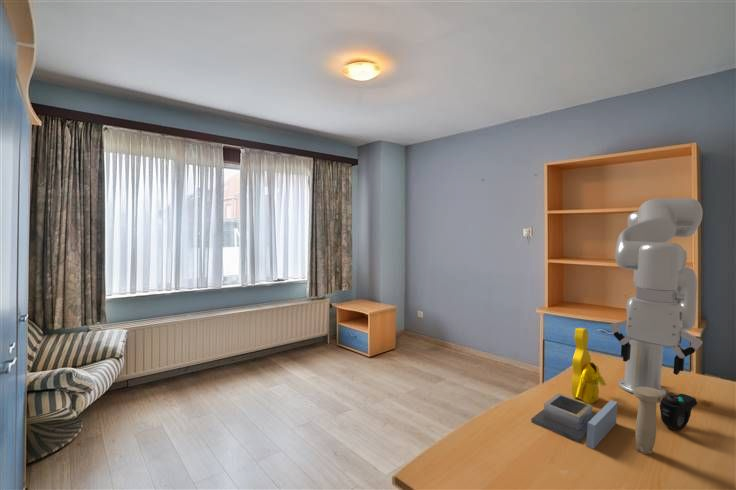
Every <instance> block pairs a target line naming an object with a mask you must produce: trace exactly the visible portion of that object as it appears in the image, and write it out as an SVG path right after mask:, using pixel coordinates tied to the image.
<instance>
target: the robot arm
mask: <svg viewBox="0 0 736 490" xmlns="http://www.w3.org/2000/svg"><path fill="white" fill-rule="evenodd" d="M703 213H704V211H703V208H702V204H701V203H700V202H699V201H698V200H697V199H695V198H692V197H691V198H690V197H677V198H676V197H671V198H670V197H669V198H664V197H663V198H662V197H661V198H652V199H649V200H646V201H644V202H643V203H642V204H640V206H639V208H638V211H637V210H635V211H634V212H631V213H630V214H629V215H628V216H627V220H626V221H627V227H626V228H625V229H624V230H622V231H621V232H620V233H619V235H618V238H617V241H616V246H615V251H614V252H615V254H614V255H615V256H614V257H615V258H614V259H615V263H616V264H617V266H618V267H619V268H621V269H623V270H629V271H630V270H631V271H633V285H634V289H635V296H632V297H629V299H628V300H627V302H626V307H625V310H626V320H621V321H616V322H612V323H610V325H609V327H610V329H611V331H612V333H613V336H614V337H615V338H616V340H618V342H619V343H620V345H621V347H620V348H621V349H620V357H622V361H623V362H625V366H624V367H625V368H624V378H620V379H619V380H618V386H619V387H620V388H622V389H623V390H625V391H626V392H629V393H631V394H633V395H634V389H635V388H636V387H651V388H654V389H657V390H660V391H661V392H663V398H666V397H667V396H666V395H667V391H666V389H664V388H663V387H662V386H661V382H662V381H661V380H662V379H661V378H662V368H663V367H662V366H663V357H664V356H663V355H664V347H666V348H671V349H672V351H673V352H674V353H675V356H674V360H673V371H672V372H673V374H674V375H676V376H677V375H679V374H680V373H681V372H684V369H685V358H686V357H688V356H690V355H692V354H694V353H695V352H696V351H697V350H698V349H699V348H700V347H701V346H702V344H703V341H702V340H701V339H699V338H697V337H695V336H694V335H692V334H691V333H689V332H688V331H691V330H692V329H693V328H694V327H695V323H696V320H697V319H696V318H697V315H696V314H697V298H698V297H697V295H698V293H697V292H698V291H697V290H698V282H697V281H698V279H697V273H696V272H695V271H694V270H693V269H692V268H691V267H689V266H686V265H687V260H688V253H687V250H685V249H684V247H683V246H682V245H681V244H678V243H677V242H676V243H675V242H668V241H670V240H672V238H688V237H691V236H693V235H694V234H695V233H696V232H697V230H698V229H699V226H700V224H701V222H702V220H703ZM623 327H625V335H626V336H625V335H623V333H622V332H621V331H620V329H619V328H623ZM683 339H685V340H686V341H688V342H690V343H691V344H690V346H688V347H687V348H685V349H684V347H682V345H681V344H682V341H683Z"/></svg>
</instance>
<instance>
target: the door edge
mask: <svg viewBox="0 0 736 490" xmlns="http://www.w3.org/2000/svg"><path fill="white" fill-rule="evenodd" d="M596 413H597V414H596V415H595V416H594V417H593V418H592V419H591V420H590V421H589V422H588V426H587V435H586V444H585V445H586V446H585V447H587V448H590V449H592V450H594V449H595V448H596V447H597V446H598V445H599V443H601V441H602V440H603V439H604V438H605V436H606V435H607V434H608V433H609V432H610V431H611V430H612V428H613V427H614V426H615V425H616V424H617V413H618V401H615V400H611V399H610V400H609V401H608V402H607V403H606V404H605V405H604V406H603V407H602V408H601V409H600V410H599V411H598V412H596Z"/></svg>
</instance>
